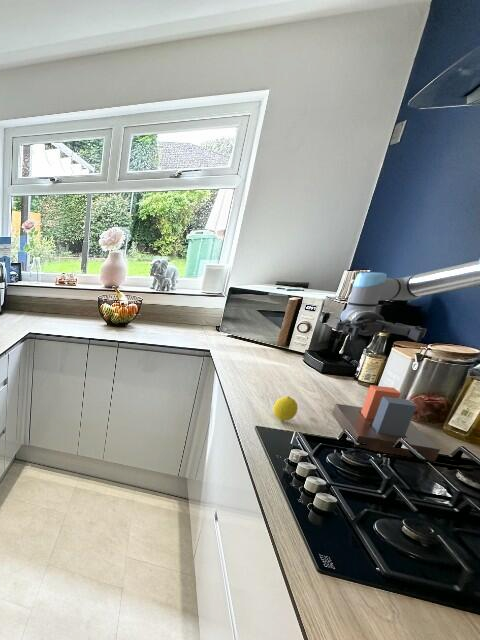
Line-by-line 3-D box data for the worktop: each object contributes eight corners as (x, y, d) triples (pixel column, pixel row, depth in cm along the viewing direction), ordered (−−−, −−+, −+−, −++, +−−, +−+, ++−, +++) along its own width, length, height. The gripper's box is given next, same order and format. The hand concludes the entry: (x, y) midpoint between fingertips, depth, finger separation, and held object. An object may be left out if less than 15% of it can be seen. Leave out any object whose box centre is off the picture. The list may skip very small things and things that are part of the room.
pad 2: (392, 440, 107) (408, 399, 103) (399, 448, 103) (416, 406, 99) (367, 436, 110) (382, 396, 106) (373, 444, 106) (389, 402, 101)
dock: (397, 423, 117) (401, 412, 116) (434, 462, 97) (440, 449, 96) (331, 413, 124) (335, 403, 123) (354, 447, 104) (358, 435, 103)
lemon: (279, 416, 123) (285, 392, 120) (297, 423, 118) (305, 398, 115) (265, 418, 121) (272, 394, 119) (284, 426, 116) (291, 400, 114)
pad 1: (379, 426, 115) (394, 387, 111) (385, 433, 111) (401, 393, 107) (357, 422, 118) (370, 384, 114) (361, 429, 114) (375, 390, 110)
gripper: (413, 337, 129) (443, 352, 112) (315, 329, 141) (328, 342, 124) (422, 314, 127) (454, 325, 109) (321, 308, 139) (335, 318, 121)
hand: (387, 334), depth 117 cm, fingers open, 13 cm apart
